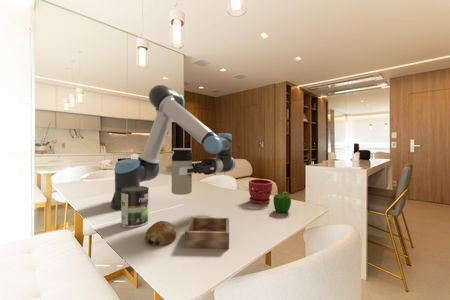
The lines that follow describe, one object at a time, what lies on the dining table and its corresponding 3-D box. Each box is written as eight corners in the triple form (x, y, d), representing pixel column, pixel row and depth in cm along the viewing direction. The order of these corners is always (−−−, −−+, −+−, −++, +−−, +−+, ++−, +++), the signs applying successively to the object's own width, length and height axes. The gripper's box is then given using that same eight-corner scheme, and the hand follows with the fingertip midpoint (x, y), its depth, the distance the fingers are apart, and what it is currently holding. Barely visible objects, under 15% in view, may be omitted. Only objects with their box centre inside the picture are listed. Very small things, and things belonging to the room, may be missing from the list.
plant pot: (243, 201, 125) (244, 180, 125) (258, 197, 134) (259, 178, 133) (261, 206, 115) (261, 184, 115) (276, 202, 124) (277, 181, 123)
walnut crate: (184, 247, 69) (184, 232, 69) (191, 230, 83) (191, 217, 83) (228, 248, 69) (229, 233, 69) (228, 230, 83) (228, 217, 83)
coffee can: (153, 219, 93) (153, 186, 93) (139, 229, 83) (139, 192, 83) (131, 217, 95) (131, 185, 95) (115, 226, 85) (115, 190, 85)
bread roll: (177, 252, 74) (186, 227, 76) (152, 248, 67) (162, 222, 69) (161, 242, 80) (169, 220, 83) (136, 238, 73) (146, 214, 76)
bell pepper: (269, 211, 108) (269, 191, 107) (278, 208, 114) (278, 188, 113) (284, 215, 102) (285, 194, 101) (293, 212, 108) (294, 191, 107)
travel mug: (167, 193, 88) (167, 148, 87) (181, 189, 95) (182, 148, 94) (181, 196, 84) (182, 148, 83) (195, 192, 90) (196, 148, 90)
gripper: (228, 176, 97) (191, 183, 79) (195, 171, 110) (156, 177, 91) (229, 159, 97) (191, 162, 79) (195, 156, 109) (156, 159, 91)
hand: (172, 170), depth 85 cm, fingers closed on travel mug, 8 cm apart
